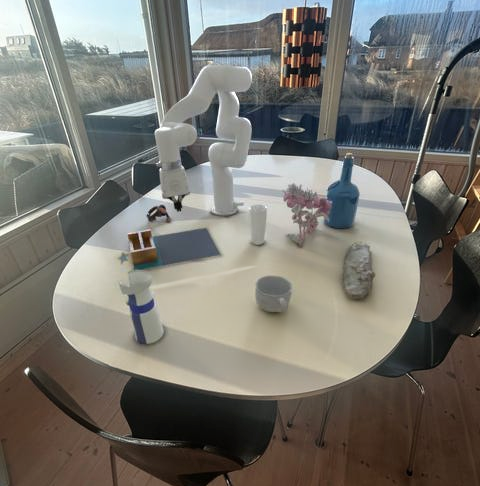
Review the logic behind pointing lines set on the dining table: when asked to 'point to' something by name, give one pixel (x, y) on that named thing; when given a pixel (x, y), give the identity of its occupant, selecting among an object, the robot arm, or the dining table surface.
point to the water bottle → (142, 305)
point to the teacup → (273, 293)
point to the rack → (142, 247)
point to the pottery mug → (158, 213)
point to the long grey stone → (358, 271)
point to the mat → (181, 248)
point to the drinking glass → (257, 223)
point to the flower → (298, 197)
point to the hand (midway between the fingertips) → (178, 210)
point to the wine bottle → (343, 197)
